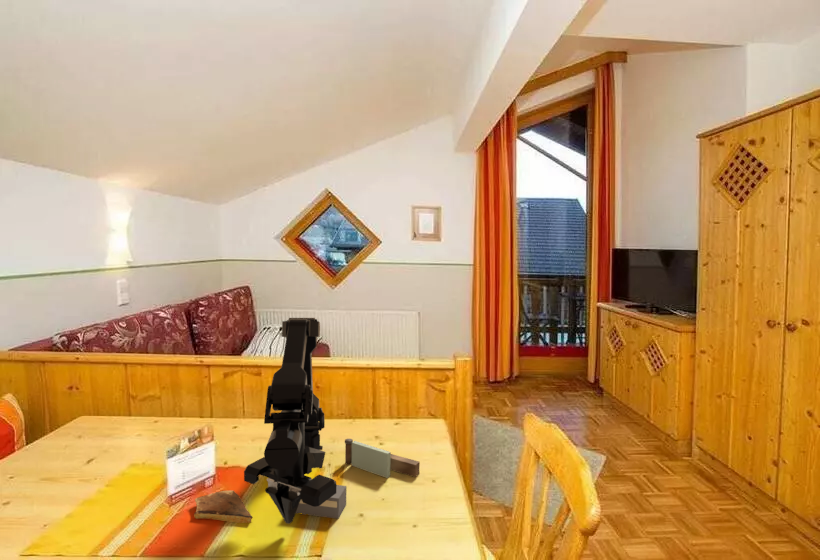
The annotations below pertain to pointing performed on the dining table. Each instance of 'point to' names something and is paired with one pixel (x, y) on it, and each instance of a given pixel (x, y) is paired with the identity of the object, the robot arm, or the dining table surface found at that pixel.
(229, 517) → the shard
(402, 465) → the bar
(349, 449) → the hinge post
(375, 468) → the door
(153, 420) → the dining table surface
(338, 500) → the grey block
